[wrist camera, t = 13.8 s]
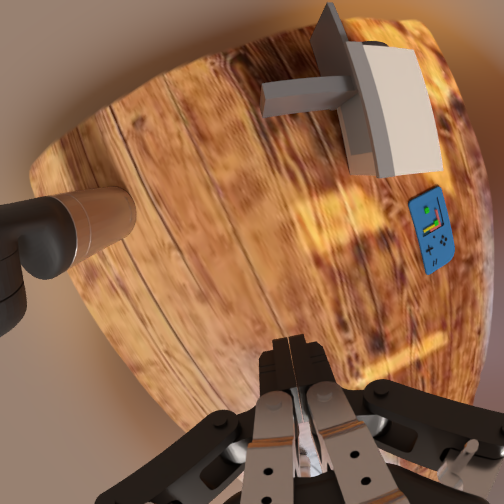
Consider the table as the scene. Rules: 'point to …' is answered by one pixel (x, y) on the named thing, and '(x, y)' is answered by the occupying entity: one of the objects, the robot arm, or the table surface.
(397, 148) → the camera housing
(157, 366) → the table surface
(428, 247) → the handheld gaming device
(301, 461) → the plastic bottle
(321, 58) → the side door
